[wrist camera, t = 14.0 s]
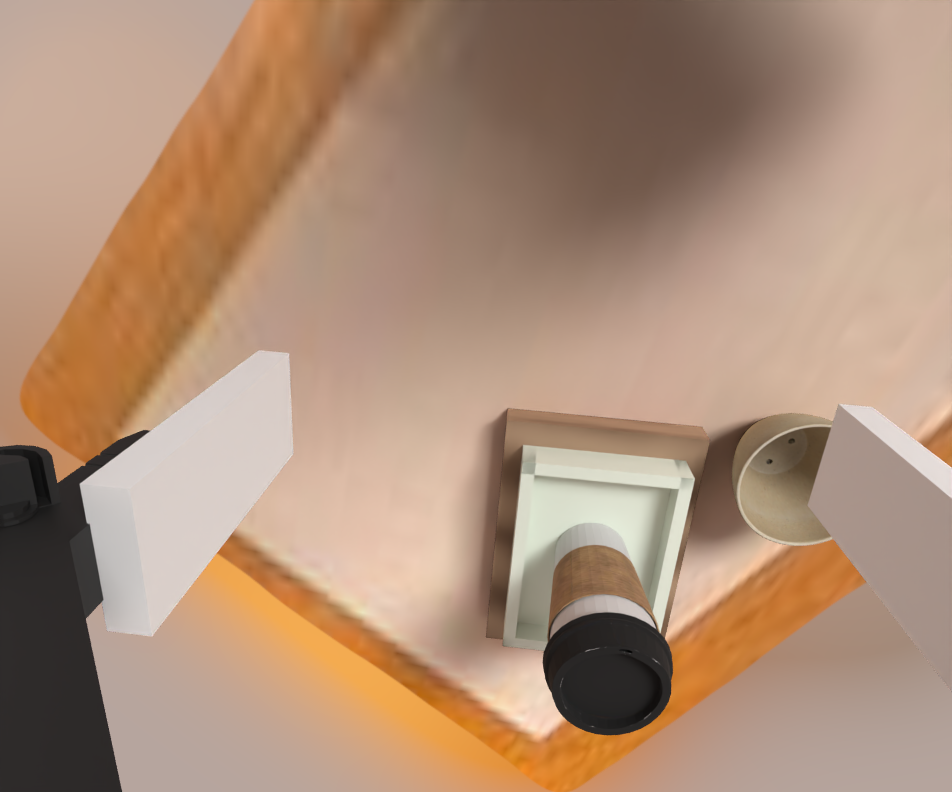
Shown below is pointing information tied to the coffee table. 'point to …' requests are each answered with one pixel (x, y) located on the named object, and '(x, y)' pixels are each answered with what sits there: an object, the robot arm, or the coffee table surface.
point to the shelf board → (584, 437)
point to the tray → (591, 501)
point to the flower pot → (781, 477)
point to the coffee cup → (603, 637)
